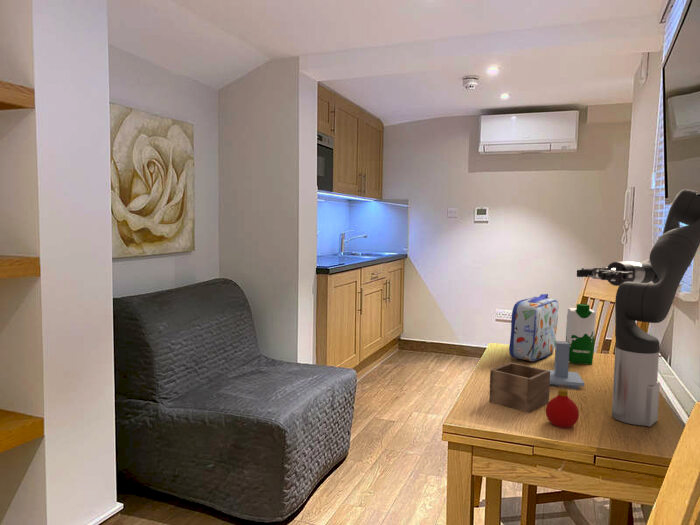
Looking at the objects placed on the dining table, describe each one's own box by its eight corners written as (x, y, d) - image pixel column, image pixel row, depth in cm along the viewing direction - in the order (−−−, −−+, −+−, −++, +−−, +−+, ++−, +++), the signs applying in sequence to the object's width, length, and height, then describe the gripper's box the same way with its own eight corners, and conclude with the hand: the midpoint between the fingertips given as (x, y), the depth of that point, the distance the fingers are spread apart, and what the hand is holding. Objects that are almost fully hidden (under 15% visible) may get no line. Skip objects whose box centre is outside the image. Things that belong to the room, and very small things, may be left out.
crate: (548, 404, 136) (550, 370, 135) (529, 415, 128) (530, 379, 127) (509, 394, 144) (510, 362, 143) (489, 404, 136) (490, 370, 135)
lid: (584, 391, 148) (586, 348, 147) (542, 387, 150) (544, 345, 149) (577, 380, 158) (579, 339, 157) (538, 376, 161) (540, 337, 160)
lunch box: (531, 346, 200) (533, 289, 198) (559, 351, 194) (562, 292, 192) (505, 361, 178) (507, 297, 177) (535, 366, 172) (538, 300, 170)
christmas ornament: (574, 422, 124) (576, 381, 123) (581, 434, 117) (583, 391, 116) (542, 420, 125) (544, 379, 124) (547, 431, 118) (549, 388, 118)
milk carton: (567, 363, 176) (570, 305, 175) (563, 357, 185) (565, 301, 184) (595, 365, 175) (598, 306, 173) (589, 358, 183) (592, 302, 182)
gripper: (606, 259, 170) (570, 260, 163) (647, 263, 157) (611, 264, 150) (604, 282, 171) (569, 284, 163) (646, 287, 158) (609, 290, 151)
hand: (589, 274), depth 157 cm, fingers open, 8 cm apart
